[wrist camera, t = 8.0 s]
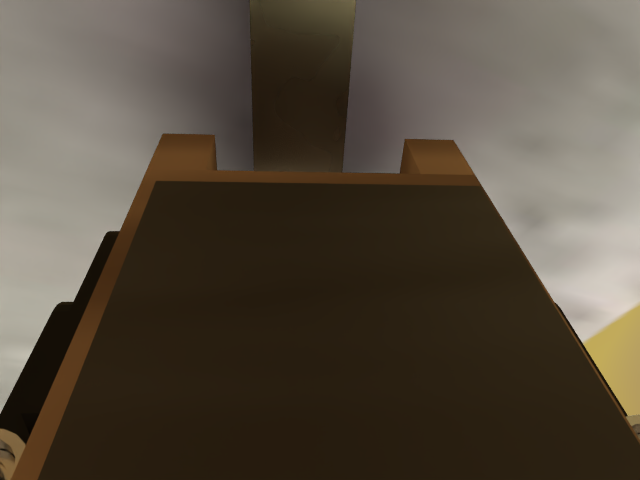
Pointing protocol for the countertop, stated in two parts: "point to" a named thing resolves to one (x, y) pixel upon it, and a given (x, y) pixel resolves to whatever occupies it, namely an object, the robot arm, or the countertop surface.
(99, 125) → the countertop surface
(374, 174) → the brown capped cube
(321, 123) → the rail
